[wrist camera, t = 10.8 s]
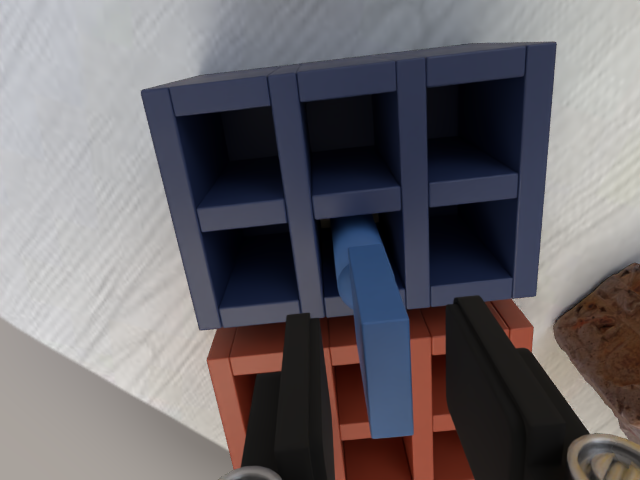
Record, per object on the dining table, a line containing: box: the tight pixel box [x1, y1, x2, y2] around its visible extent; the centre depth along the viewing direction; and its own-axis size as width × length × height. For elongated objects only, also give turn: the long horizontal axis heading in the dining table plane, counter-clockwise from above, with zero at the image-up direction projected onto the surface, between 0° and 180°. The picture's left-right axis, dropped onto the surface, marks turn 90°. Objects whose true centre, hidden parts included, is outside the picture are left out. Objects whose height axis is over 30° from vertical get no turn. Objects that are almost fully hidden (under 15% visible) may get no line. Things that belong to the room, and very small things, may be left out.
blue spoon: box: [330, 214, 414, 439], centre depth 16 cm, size 2×3×14 cm, turn 6°
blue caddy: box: [141, 42, 557, 330], centre depth 19 cm, size 13×9×8 cm
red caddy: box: [207, 299, 534, 480], centre depth 23 cm, size 13×9×8 cm
